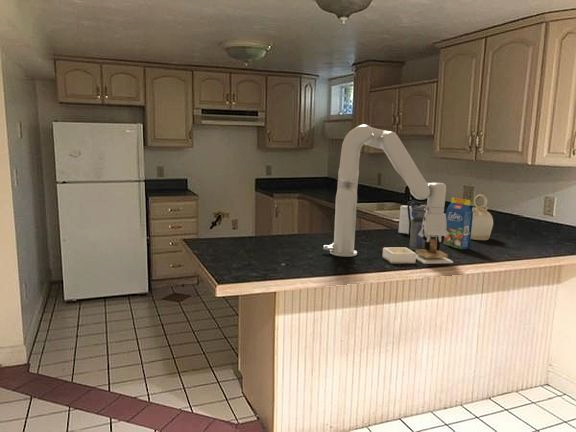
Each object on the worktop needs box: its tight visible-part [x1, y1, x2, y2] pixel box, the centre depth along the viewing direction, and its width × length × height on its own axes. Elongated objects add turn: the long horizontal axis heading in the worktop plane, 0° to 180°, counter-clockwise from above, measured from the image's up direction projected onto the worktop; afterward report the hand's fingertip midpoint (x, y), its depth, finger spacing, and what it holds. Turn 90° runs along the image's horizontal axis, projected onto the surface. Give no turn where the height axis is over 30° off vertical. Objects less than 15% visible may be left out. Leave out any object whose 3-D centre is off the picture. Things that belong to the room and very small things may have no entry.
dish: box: [382, 246, 417, 264], centre depth 208 cm, size 11×11×4 cm
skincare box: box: [398, 205, 436, 238], centre depth 267 cm, size 21×6×16 cm, turn 58°
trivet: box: [416, 253, 454, 265], centre depth 212 cm, size 14×14×1 cm
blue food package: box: [442, 197, 473, 250], centre depth 238 cm, size 6×12×25 cm, turn 28°
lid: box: [415, 237, 449, 258], centre depth 211 cm, size 10×10×7 cm
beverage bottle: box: [406, 200, 432, 252], centre depth 228 cm, size 10×13×25 cm
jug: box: [471, 194, 494, 241], centre depth 261 cm, size 15×16×25 cm
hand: (431, 249), depth 211 cm, fingers closed on lid, 4 cm apart
